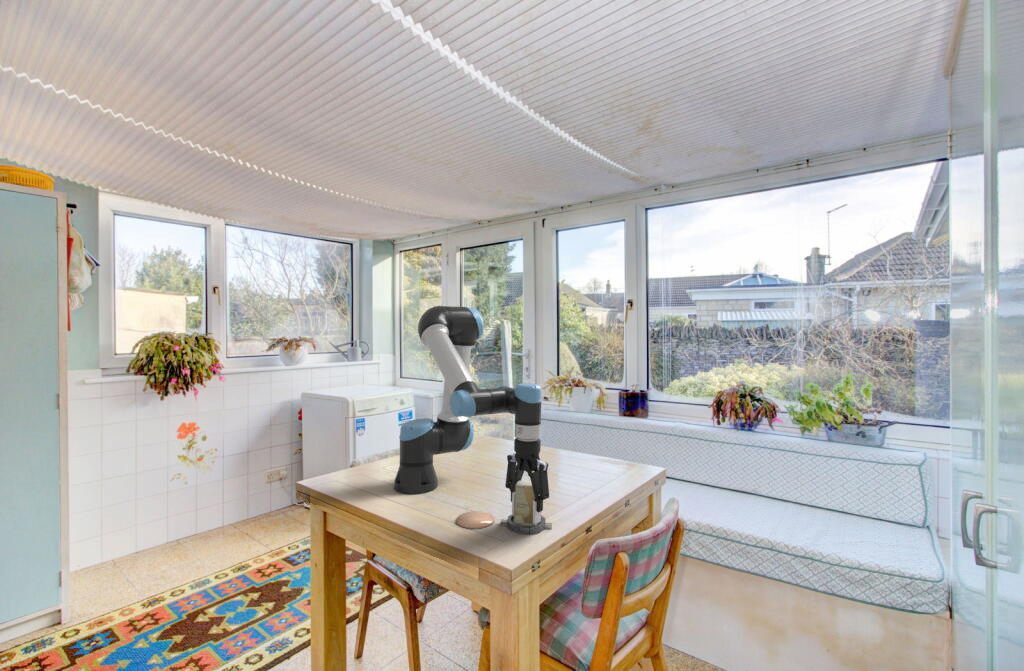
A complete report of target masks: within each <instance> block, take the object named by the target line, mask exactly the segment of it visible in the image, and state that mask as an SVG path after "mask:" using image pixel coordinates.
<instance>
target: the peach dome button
mask: <svg viewBox="0 0 1024 671" xmlns="http://www.w3.org/2000/svg"><path fill="white" fill-rule="evenodd" d="M494 523H495V516H494V515H493V514H492V513H489V512H485V511H478V510H477V511H475V510H473V511H468V512H463V513H461V514H459V515H458V516H457V517H456V524H457V525H458V526H460V527H462V528H463V529H464V528H465V529H470V530H472V529H473V530H478V529H480V530H481V529H485V528H488V527H490V526H492V525H493V524H494Z"/></svg>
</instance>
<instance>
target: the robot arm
mask: <svg viewBox="0 0 1024 671" xmlns="http://www.w3.org/2000/svg"><path fill="white" fill-rule="evenodd" d="M484 328H485V327H484V320H483V317H482V315H481V313H480V311H478V309H476V308H474V307H467V306H450V305H449V306H446V305H445V306H444V305H436V306H432V307H429V308H428V309H426V310H425V311H424V312H423V314H422V315H421V316H420V318H419V320H418V325H417V333H418V337H419V340H420V341H421V343H422V344H423V346H425V347H427V348H428V349H429V350H428V351H429V352H430V354H431V356H432V358H433V359H434V361H435V362H436V365H437V367H438V369H439V371H440V372H441V375H442V377H443V379H444V384H443V394H442V395H443V396H442V404H441V405H442V406H441V411H440V412H439V413H438V414H437V417H436V421H434V419H433V418H429V417H428V418H425V417H424V418H416V419H412V420H408V421H406V422H404V423H402V425H401V427H400V430H399V432H400V433H399V465H398V466H399V467H398V468H397V469H398V470H397V472H396V475H395V479H394V481H393V483H394V484H393V487H394V490H395V491H396V492H398V493H401V494H408V495H409V494H410V495H411V494H412V495H414V494H415V495H416V494H424V493H428V492H433V490H435V489H437V487H438V486H439V485H438V483H439V481H438V476H437V473H436V469H435V466H434V456H435V455H441V454H443V455H444V454H450V453H458V452H462V451H465V450H468V448H469V447H471V445H472V442H473V440H474V435H475V430H474V424H473V422H472V420H470V418H471V417H476V416H477V417H478V416H485V415H495V414H497V415H498V414H504V413H505V414H511V415H514V437H515V439H514V441H513V444H514V447H513V451H514V452H515V453H512V454H508V455H507V457H506V458H507V468H506V477H505V488H506V489H509V491H510V502H511V515H513V516H514V515H515V490H516V483H517V481H519V480H521V481H522V479H523V476H524V473H525V472H526V473H527V476H529V479H530V481H531V483H532V487H533V491H534V495H535V499H534V500H533V524H536V523H537V524H539V522H541V515H542V512H543V510H544V500H547V499H550V489H549V477H548V475H549V474H548V469H549V463H548V462H544V461H542V460H541V458H540V453H541V442H542V441H541V439H540V438H541V437H542V423H541V422H542V401H543V399H542V387H541V386H540V384H536V383H527V382H525V383H518V384H516V385H515V387H509V386H507V385H504V386H503V385H498V386H496V387H494V388H492V387H491V388H479V386H478V385H477V383H476V382H475V379H474V378H473V376H472V374H471V373H470V363H471V362H470V361H471V351H472V349H473V348H475V347H476V345H477V344H476V342H477V341H478V340H479V339H481V338H482V335H484Z"/></svg>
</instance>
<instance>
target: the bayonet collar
mask: <svg viewBox="0 0 1024 671" xmlns="http://www.w3.org/2000/svg"><path fill="white" fill-rule="evenodd" d="M500 526H505V527H507V529H508V530H509V531H511V532H513V533H515V534H516V533H517V534H519V535H535V534H540V533H541V532H543V531H544V530H546V529H549V530H550V529H551V530H552V529H553V522H546V518H545V517H544V515H542V514H541V522H539V523H537V525H534V526H520V525H517V524H514V516H513V515H512V514H510V515H508V517H507V519H501V520H500Z"/></svg>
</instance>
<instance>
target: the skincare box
mask: <svg viewBox="0 0 1024 671" xmlns="http://www.w3.org/2000/svg"><path fill="white" fill-rule="evenodd" d="M534 499H535V495H534V491H533V487H532V483H531V480H522V479H521V480H519V481H517V483H516V490H515V515H514V522H513V523H514V524H517V525H520V526H534V525H538V523H536V524H533V500H534Z"/></svg>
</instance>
